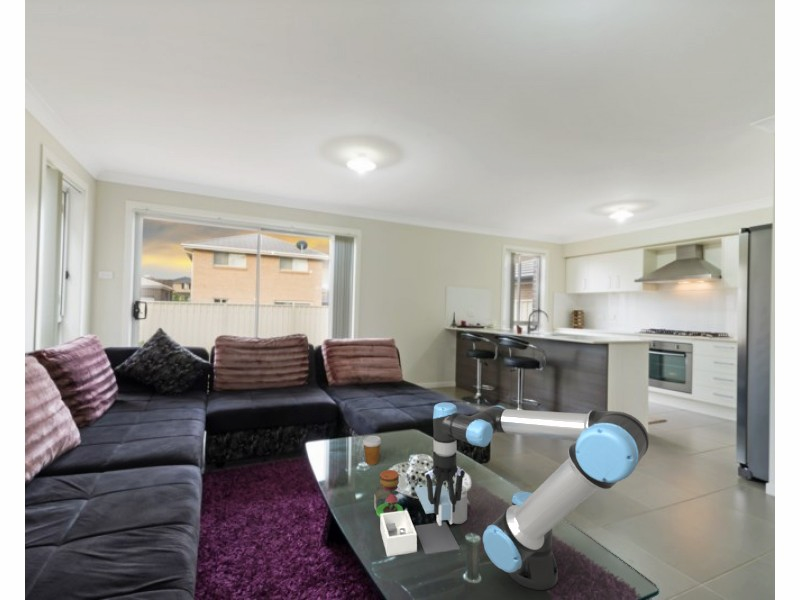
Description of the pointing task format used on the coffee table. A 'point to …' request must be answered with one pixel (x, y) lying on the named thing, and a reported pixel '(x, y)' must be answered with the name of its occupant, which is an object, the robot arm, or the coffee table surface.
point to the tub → (398, 533)
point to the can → (460, 508)
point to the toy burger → (387, 492)
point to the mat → (436, 538)
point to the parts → (394, 530)
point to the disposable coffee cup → (372, 449)
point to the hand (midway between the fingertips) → (444, 522)
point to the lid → (429, 508)
